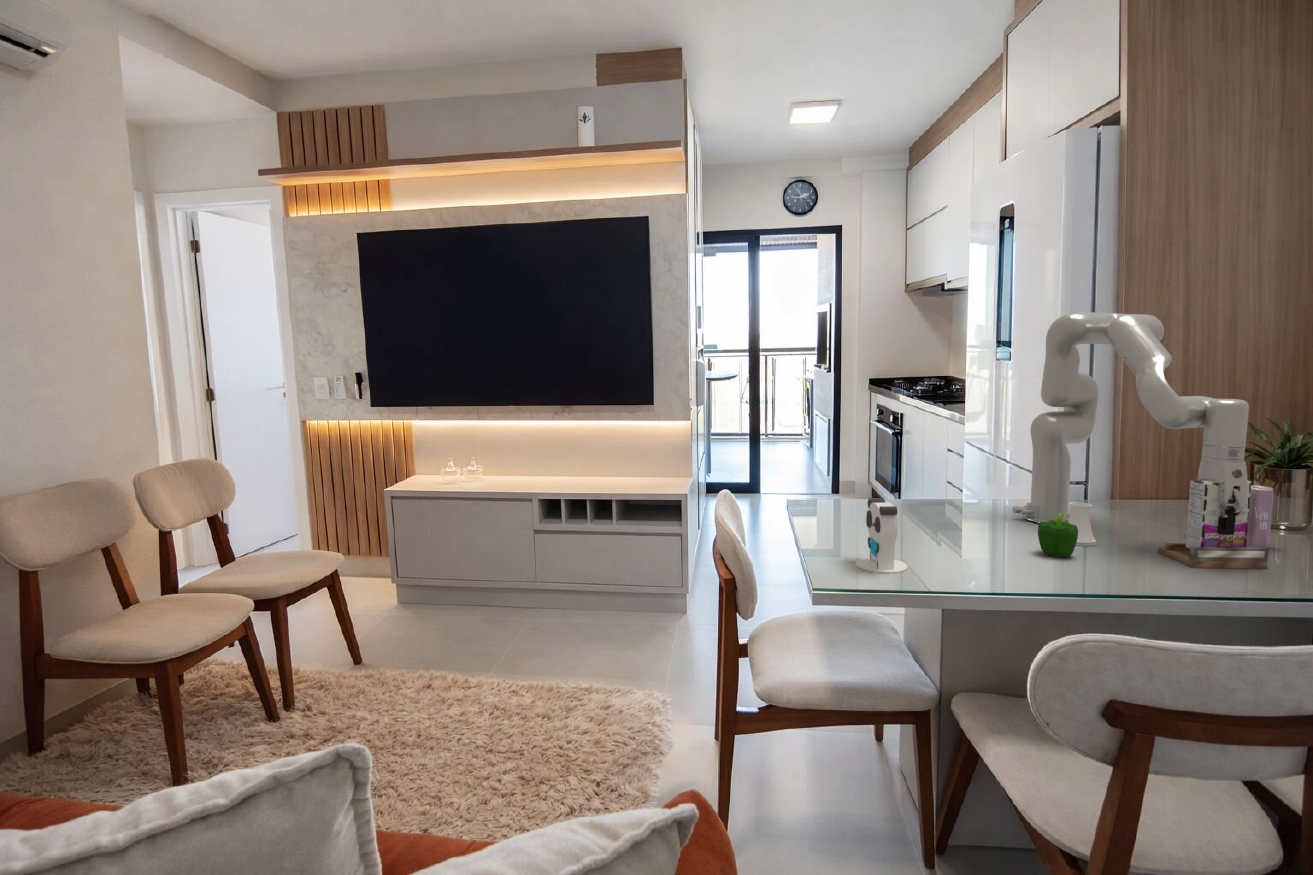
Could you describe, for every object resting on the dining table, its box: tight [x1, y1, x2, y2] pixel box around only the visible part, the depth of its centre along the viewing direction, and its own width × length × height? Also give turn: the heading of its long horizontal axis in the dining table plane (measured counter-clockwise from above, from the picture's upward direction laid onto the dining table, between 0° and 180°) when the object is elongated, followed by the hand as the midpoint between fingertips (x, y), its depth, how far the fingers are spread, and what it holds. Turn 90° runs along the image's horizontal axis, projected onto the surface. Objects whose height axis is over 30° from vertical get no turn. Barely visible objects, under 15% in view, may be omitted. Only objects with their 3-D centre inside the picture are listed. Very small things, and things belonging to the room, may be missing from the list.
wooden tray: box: [1157, 542, 1270, 569], centre depth 163 cm, size 16×12×4 cm
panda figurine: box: [855, 497, 909, 575], centre depth 162 cm, size 12×11×15 cm
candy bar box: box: [1185, 479, 1252, 549], centre depth 161 cm, size 11×5×16 cm, turn 95°
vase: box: [1069, 501, 1097, 547], centre depth 180 cm, size 8×8×10 cm
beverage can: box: [1246, 484, 1275, 549], centre depth 173 cm, size 6×6×15 cm
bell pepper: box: [1037, 513, 1078, 558], centre depth 169 cm, size 8×8×10 cm
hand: (1215, 529), depth 162 cm, fingers closed on candy bar box, 5 cm apart
